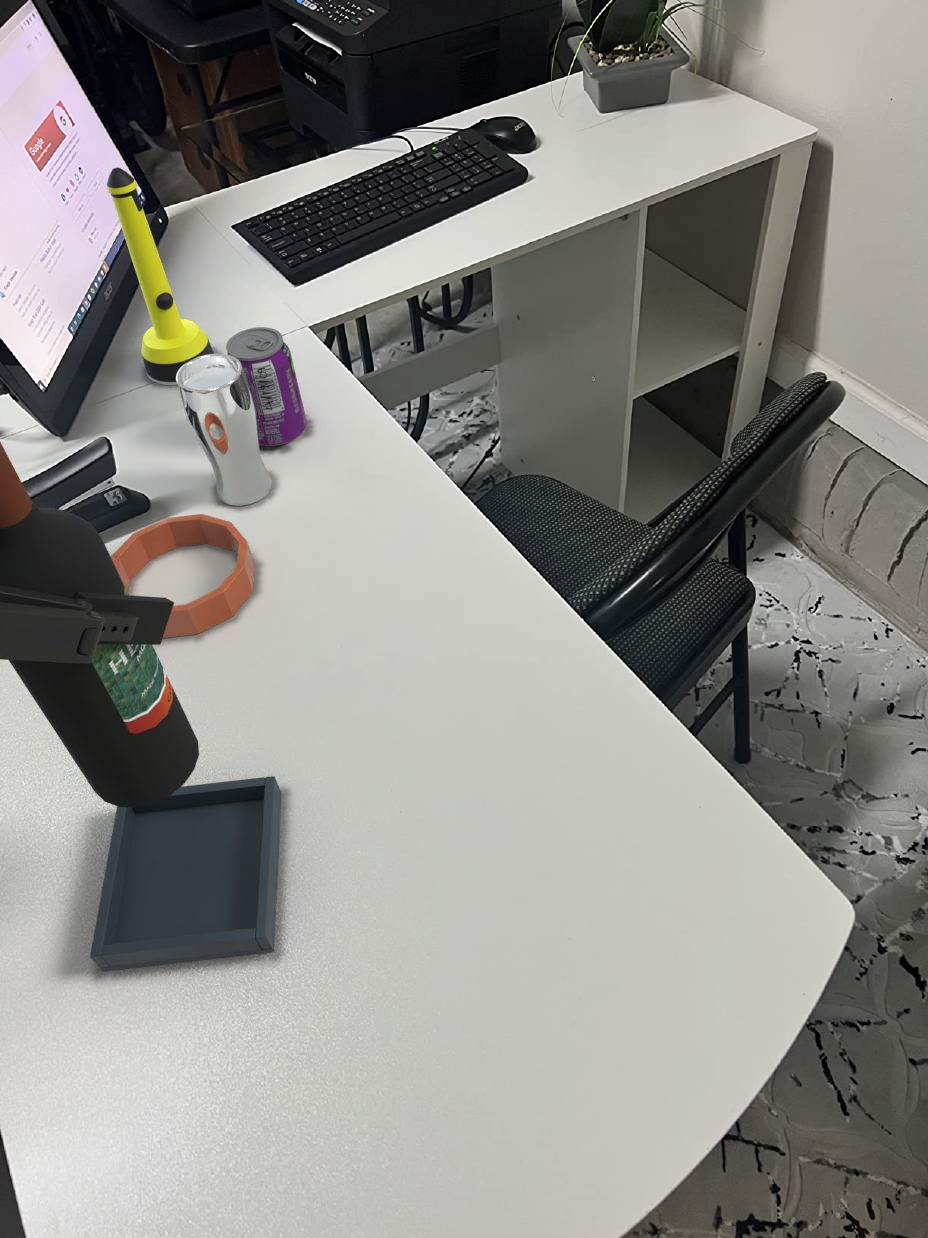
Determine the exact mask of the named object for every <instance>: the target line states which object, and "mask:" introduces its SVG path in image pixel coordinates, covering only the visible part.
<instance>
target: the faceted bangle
mask: <svg viewBox="0 0 928 1238" xmlns="http://www.w3.org/2000/svg"><path fill="white" fill-rule="evenodd" d="M207 544H209V545H212V546H215V547H219V548H222V549H225V550H229V551H232V552H234V554H235V555H236V556H237V561H236V566H235V568H234V569H233V570H232V571H231V572H230V574H229V575H228V576H227V577H226V578H225V579H224V580H223V581H222V583H221V584H220V585H219V586H218V588H215V589H214V590H212V591H210V592H208V593H206V594H204V595H202V596H200V597H198V598H196V599H194V600H192V601H190V602H188V603H185V604H177V605H173V608H172V611H171V614H170V617H169V620H168V623H167V626H166V629H165V632H164V635H163V638H162V639H167V638H176V637H177V638H178V637H185V636H186V637H187V636H194V635H199V634H201V633H203V632H205V631H207V630H210V629H211V628H213V627H215V626H217V625H219V624H221V623H222V622H225V621H227V620H229V619H231V618H232V617H233V616H234V615H236V613H237V612H238V611H239V609H240V608H241V607H242V606H243V604H244V603H245V602H246V600H247V599H248V598H249V597H250V596H251V594H252V593H253V592H254V584H255V574H256V573H255V572H256V563H255V561H254V558H253V556H252V552H251V548H250V545H249V542H248V541H247V539H246V538H245V537H244V536H243V535H242V533H241V532H240V531H239V530H238V528H237V527H236V526H235V525H234V524H233V523H232V521H229V520H225V519H222V518H218V517H215V516H210V515H209V514H204V513H198V514H189V515H179V516H171V517H165V518H163V519H161V520H159V521H157V522H155V523H152V524H150V525H148V526H146V527H143V528H142V529H139V530H137V531H135V532H133V533H131V535H130V536H129V537H128V538H127V539H126V540H125V541H124V542H123V543H122V544H121V545H120V546H119V547H118V548H117V549H116V551H114V552H113V553H112V554H111V555H110V556H111V559H112V561H113V563H114V565H115V567H116V569H117V571H118V573H119V575H120V578H121V580H122V582H123V584H124V586H125V588H126V590H127V592H128V593H129V586H130V583H131V581H132V580H133V579H134V578H135V577H136V576H137V574H138V573H140V571H141V570H142V569H143V568H144V567H145V566H146V565H147V564H148V563H149V562H150V561H151V560H154V559H155V558H158V557H160V556H162V555H164V554H167V553H168V552H171V551H172V550H174V549H177V548H179V547H181V548H182V547H189V546H197V545H198V546H200V545H207Z"/></svg>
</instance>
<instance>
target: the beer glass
mask: <svg viewBox="0 0 928 1238" xmlns="http://www.w3.org/2000/svg"><path fill="white" fill-rule="evenodd" d="M176 381H177V383H178V385H177V387H178V390H179V395H180V399H181V404H182V406H183V407H182V408H183V410H184V414H185V416H186V419H187V422H188V424H189V427H190V429H191V431H192V433H193V435H194V437H195V440H196V441H197V442H198V444H199V446H200V447H201V449H202V451H203V452H204V454H205V457H206V458H207V460H208V461H209V463H210V465H211V467H212V468H211V469H212V470H213V474H214V479H215V489H216V494H217V496H218V497H217V498H219V500H220V501H222V502H223V503H224V504H225V505H231V506H234V507H235V506H237V507H241V506H243V507H244V506H249V505H252V504H255V503H257V502H259V501H261V500H262V499H264V498H265V497H266V496H267V495H268V494H269V493H270V491H271V489H272V486H273V481H272V477H271V474H270V473H269V471H268V469H267V467H266V465H265V464H264V462H263V458H262V455H261V449H260V445H259V435H258V422H257V414H256V408H255V404H254V400H253V396H252V393H251V390H250V387H249V384H248V382H247V379H246V376H245V374H244V371H243V368H242V365H241V362H240V361H239V360H238V359H237V358H235V357H233V356H231V355H228V353H214V354H209V355H204V356H200V357H197V358H195V359H193V360H191V361H189V362H187V363H186V364H184V365H183V366H182V367H181V368H180V369H179V371H178V373H177V375H176Z"/></svg>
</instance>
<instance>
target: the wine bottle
mask: <svg viewBox="0 0 928 1238" xmlns="http://www.w3.org/2000/svg"><path fill="white" fill-rule="evenodd" d="M111 556H112V555H111V554H110V552H109V550H108V548H107V546H106V544H105V542H104V540H103V538H102V536H101V534H100V533H99V532H98V531H97V529H96V528H95V527H94V525H92V524H91V523H90V522H88V521H87V520H86V519H84V518H83V517H81V516H78V515H76V514H75V513H73V512H70V511H68V510H63V509H60V508H56V507H38V506H37V504H35V503H34V501H33V500H32V499H31V498H30V495H29V493H28V491H27V490H26V488H25V486H24V484H23V482H22V480H21V478H20V477H19V474H18V473H17V471H16V469H15V467H14V465H13V464H12V461H11V460H10V458H9V455H8V453H7V452H6V449H5V448H4V446H3V444H2V442H1V441H0V585H3V586H9V587H14V588H20V589H25V590H30V591H36V592H41V593H47V594H52V595H57V596H63V597H68V598H74V597H75V594H76V592H84V593H102V594H117V595H130V594H129V591H128V592H127V590H126V588H125V586H124V584H123V582H122V580H121V578H120V575H119V573H118V571H117V569H116V567H115V565H114V563H113V561H112V559H111ZM8 662H9V664H10V665H11V666H12V668H13V669H14V671H15V672H16V674H17V675H18V677H19V678H20V680H21V681H22V683H23V685H24V686H25V688H26V689H27V691H28V692H29V694H30V695H31V697H32V699H33V700H34V701H35V703H36V705H37V706H38V707H39V709H40V711H41V712H42V714H43V715H44V717H45V718H46V720H47V721H48V723H49V724H50V726H51V727H52V729H53V731H54V732H55V733H56V735H57V737H58V738H59V739H60V742H61V743H62V744H63V745H64V747H65V749H66V750H67V752H68V753H69V755H70V756H71V758H72V759H73V761H74V762H75V765H76V766H77V767H78V769H79V770H80V772H81V774H82V775H83V776H84V778H85V779H86V781H87V782H88V784H89V786H90V787H91V789H92V791H93V792H94V793H95V794H96V795H97V796H98V797H99V798H100V799H102V801H103V802H104V803H107V804H110V805H112V806H115V807H117V806H118V807H130V808H137V807H141V806H146V805H150V804H154V803H156V802H158V801H160V800H162V799H164V798H166V797H168V796H170V795H171V794H173V793H174V792H175V791H176V790H177V789H179V788H180V787H182V786H184V784H185V783H186V782H187V781H188V779H189V778H190V777H191V775H192V774H193V772H194V771H195V769H196V766H197V763H198V759H199V756H200V749H199V740H198V738H197V735H196V733H195V731H194V729H193V727H192V726H191V723H190V721H189V719H188V717H187V715H186V712H185V710H184V709H183V706H182V703H181V702H180V699H179V698H178V696H177V693H176V691H175V689H174V688H173V685H172V683H171V681H170V679H169V677H168V675H167V673H166V671H165V668H164V666H163V663H162V662H161V660H160V658H159V655H158V654H157V652H156V649H155V646H154V645H122V644H97V647H96V650H95V653H94V656H93V659H92V663H90V664H78V663H59V662H40V661H20V660H8Z"/></svg>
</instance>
